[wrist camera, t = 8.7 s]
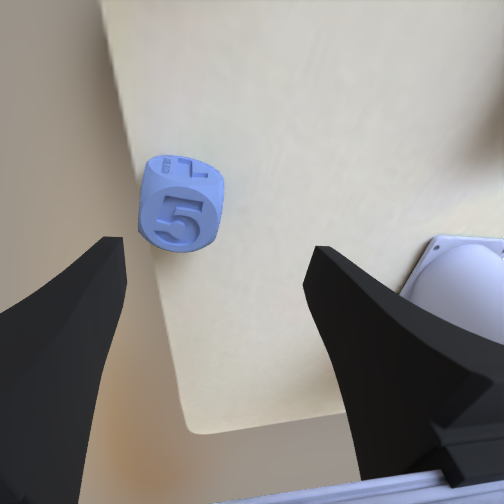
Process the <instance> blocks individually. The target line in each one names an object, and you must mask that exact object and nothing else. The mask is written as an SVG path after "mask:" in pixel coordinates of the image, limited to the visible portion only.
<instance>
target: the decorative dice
mask: <svg viewBox="0 0 504 504" xmlns="http://www.w3.org/2000/svg"><path fill="white" fill-rule="evenodd" d="M223 199H224V179H223V177H222V175H221V174H220V172H219V171H218V170H216V169H215V168H213V167H212V166H210V165H208V164H206V163H203V162H201V161H198V160H194V159H191V158H186V157H181V156H171V155H165V156H157V157H154V158H152V159H150V160H149V161H147V163H146V166H145V171H144V176H143V182H142V189H141V196H140V205H139V217H138V231H139V233H140V234H141V235H142V236H143V237H144V238H145V239H146V240H147V241H149V242H150V243H151V244H153V245H154V246H156V247H158V248H161V249H164V250H167V251H172V252H193V251H196V250H199V249H202V248H204V247H206V246H207V245H209V244H210V243H212V242H213V241H214V240H215V237H216V235H217V232H218V228H219V224H220V219H221V214H222V208H223Z"/></svg>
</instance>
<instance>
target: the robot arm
mask: <svg viewBox="0 0 504 504" xmlns="http://www.w3.org/2000/svg"><path fill="white" fill-rule="evenodd" d="M503 258H504V239H491V238H475V237H458V236H442V235H439V236H436V237H434V238H433V239H432V240H431V242H430V244H429V245H428V247H427V249H426V250H425V252H424V254H423V255H422V257H421V259H420V260H419V262H418V264H417V265H416V267H415V269H414V270H413V272H412V274H411V275H410V277H409V279H408V281H407V282H406V284H405V286H404V287H403V289H402V291H401V292H400V294H399V295H398V294H397V293H395V292H394V291H392V290H391V289H389V288H388V287H386V286H385V285H383V284H382V283H380V282H379V281H377V280H376V279H374V278H373V277H372V276H370V275H369V274H368V273H366V272H365V271H363V270H362V269H361V268H359V267H358V266H357V265H355V264H354V263H353V262H351V261H350V260H349V259H347V258H346V257H345V256H343V255H342V254H340V253H339V252H338V251H336V250H335V249H333V248H331V247H330V246H315V249H314V252H313V255H312V258H311V261H310V264H309V267H308V270H307V273H306V276H305V279H304V282H303V289H304V293H305V297H306V300H307V304H308V307H309V310H310V312H311V314H312V317H313V319H314V322H315V324H316V326H317V329H318V331H319V333H320V336H321V338H322V340H323V343H324V345H325V347H326V350H327V352H328V354H329V357H330V360H331V362H332V365H333V368H334V371H335V375H336V378H337V381H338V384H339V388H340V391H341V395H342V399H343V402H344V406H345V410H346V413H347V417H348V421H349V425H350V430H351V434H352V438H353V441H354V447H355V452H356V456H357V461H358V466H359V471H360V476H361V481H358V482H351V483H345V484H338V485H331V486H325V487H318V488H311V489H304V490H298V491H291V492H285V493H278V494H271V495H264V496H258V497H251V498H245V499H238V500H231V501H224V502H217V503H210V504H504V259H503ZM126 286H127V276H126V266H125V257H124V246H123V237H102V238H101V239H100V240H99V241H98V242H97V243H95V244H94V245H93V246H92V247H91V248H90V249H89V250H88V251H86V252H85V253H84V254H83V255H82V256H81V257H79V258H78V259H77V260H76V261H75V262H74V263H72V264H71V265H70V266H69V267H67V268H66V269H65V270H64V271H63V272H61V273H60V274H59V275H57V276H56V277H55V278H53V279H52V280H51V281H49V282H48V283H47V284H45V285H44V286H43V287H41V288H40V289H38V290H37V291H36V292H34V293H33V294H31V295H30V296H28V297H27V298H25V299H23V300H22V301H20V302H19V303H17V304H15V305H14V306H12V307H10V308H9V309H7V310H5V311H4V312H2V313H0V504H78V500H79V494H80V487H81V482H82V475H83V470H84V464H85V458H86V452H87V447H88V441H89V436H90V430H91V425H92V419H93V414H94V410H95V404H96V400H97V395H98V390H99V385H100V380H101V376H102V372H103V368H104V364H105V361H106V358H107V355H108V352H109V349H110V346H111V343H112V340H113V336H114V333H115V330H116V327H117V324H118V321H119V318H120V314H121V311H122V308H123V303H124V298H125V291H126Z"/></svg>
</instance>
